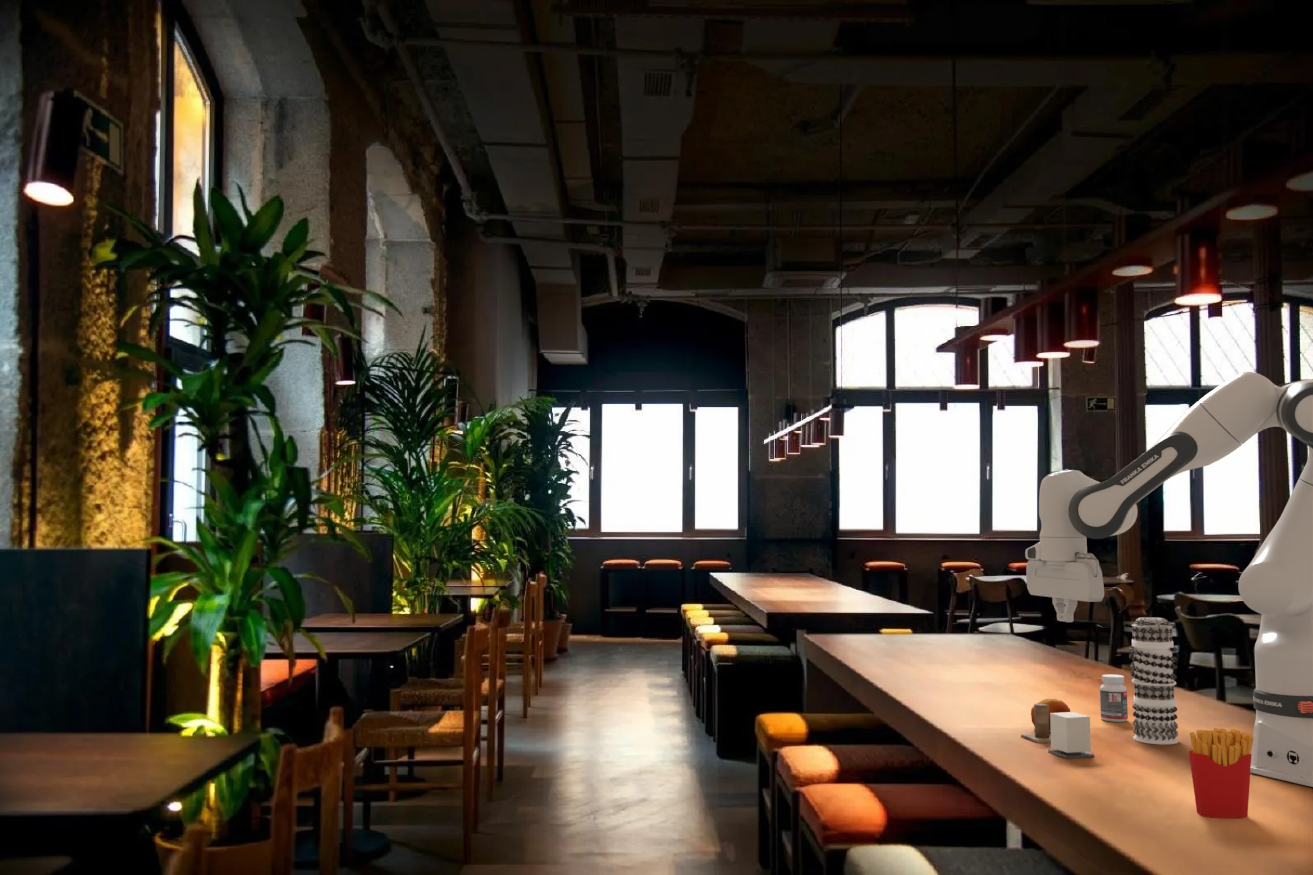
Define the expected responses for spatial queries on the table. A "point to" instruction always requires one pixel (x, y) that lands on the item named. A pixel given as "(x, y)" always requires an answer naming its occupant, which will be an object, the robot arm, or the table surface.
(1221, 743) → the french fries
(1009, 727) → the table surface
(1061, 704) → the fruit
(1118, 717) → the pill bottle
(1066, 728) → the white rectangular block
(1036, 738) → the knob on square plate
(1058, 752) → the grey square post stand
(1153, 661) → the black white cylinder
